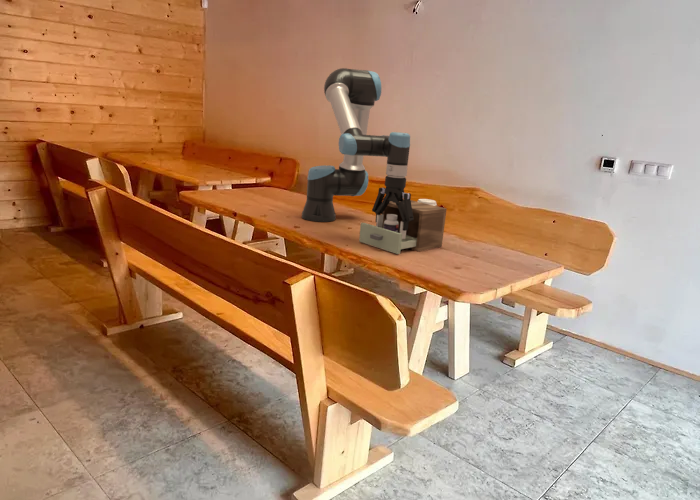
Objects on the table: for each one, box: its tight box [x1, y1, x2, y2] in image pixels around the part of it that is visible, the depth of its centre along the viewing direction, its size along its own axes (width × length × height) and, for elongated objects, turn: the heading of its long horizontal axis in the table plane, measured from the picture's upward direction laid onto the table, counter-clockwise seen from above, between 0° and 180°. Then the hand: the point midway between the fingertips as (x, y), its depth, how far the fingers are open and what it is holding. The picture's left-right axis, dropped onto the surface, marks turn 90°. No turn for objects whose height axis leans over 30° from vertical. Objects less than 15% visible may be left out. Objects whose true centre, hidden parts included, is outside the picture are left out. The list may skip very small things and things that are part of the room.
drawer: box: [358, 222, 417, 255], centre depth 194 cm, size 20×16×7 cm
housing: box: [382, 199, 448, 252], centre depth 201 cm, size 20×14×15 cm
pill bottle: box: [384, 214, 399, 233], centre depth 193 cm, size 5×5×10 cm
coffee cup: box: [417, 198, 438, 206], centre depth 214 cm, size 8×8×15 cm
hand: (390, 235), depth 194 cm, fingers open, 11 cm apart
